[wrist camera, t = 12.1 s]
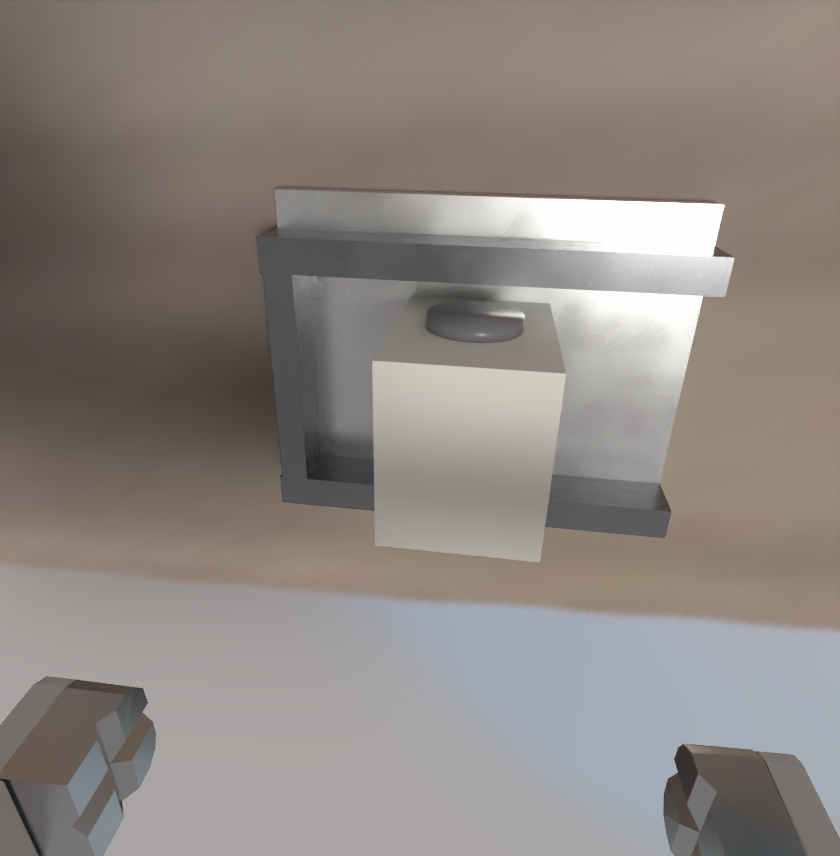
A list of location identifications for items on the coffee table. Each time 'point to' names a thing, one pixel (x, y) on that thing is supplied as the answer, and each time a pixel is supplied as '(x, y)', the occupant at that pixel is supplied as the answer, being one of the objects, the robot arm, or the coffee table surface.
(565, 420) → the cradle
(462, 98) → the coffee table surface
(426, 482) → the cream rectangular block
